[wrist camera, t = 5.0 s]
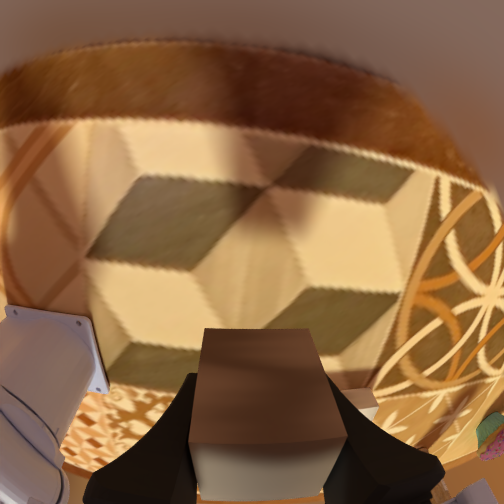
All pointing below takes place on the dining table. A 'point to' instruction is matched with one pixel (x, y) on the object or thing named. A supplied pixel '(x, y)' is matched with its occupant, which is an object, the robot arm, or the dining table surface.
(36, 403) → the robot arm
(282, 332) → the walnut block
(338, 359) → the dining table surface
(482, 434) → the cupcake
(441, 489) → the sprinkles bottle
